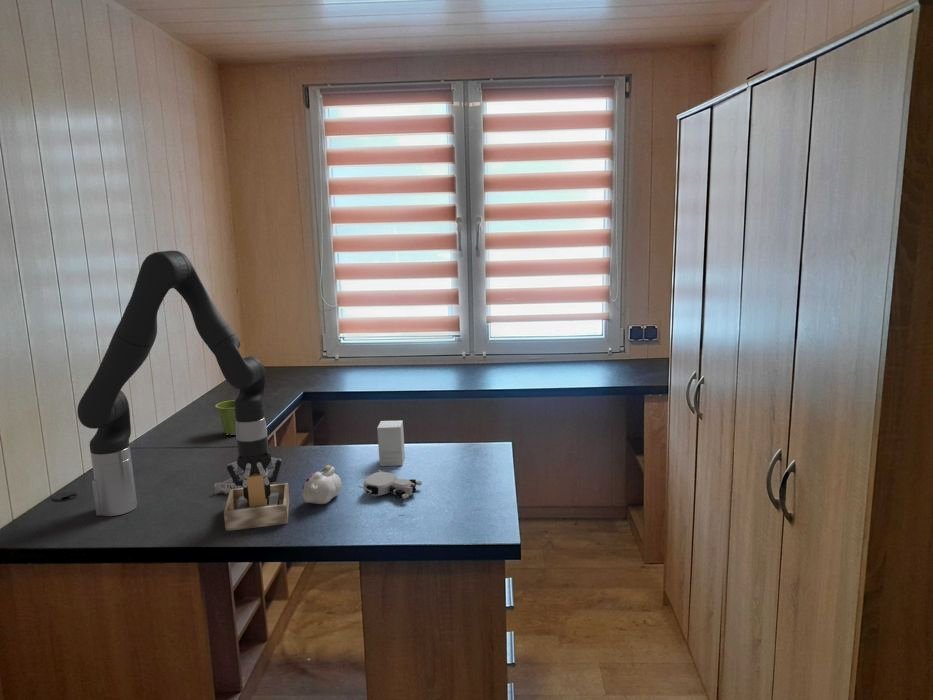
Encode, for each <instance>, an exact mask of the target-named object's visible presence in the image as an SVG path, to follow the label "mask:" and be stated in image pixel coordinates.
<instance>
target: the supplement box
mask: <svg viewBox="0 0 933 700" xmlns="http://www.w3.org/2000/svg"><path fill="white" fill-rule="evenodd" d="M376 429H377V430H376V431H377V444H378V459H379V466H380V467H390V466H391V467H398V466H401V467H402V466H403V465H404V462H405V458H406V456H405V454H406V452H405V436H404V435H405V434H404V420H380V422H379V424H378V426H377V427H376Z"/></svg>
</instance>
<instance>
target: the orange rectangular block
mask: <svg viewBox="0 0 933 700" xmlns="http://www.w3.org/2000/svg"><path fill="white" fill-rule="evenodd" d="M247 485H248V495H249V505H250V507H256V506H264V505H267V498H265V487H264V485H265V483H264V478H263V475H261V474H256V473H255V474H252V475H249V477H247Z"/></svg>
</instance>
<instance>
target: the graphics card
mask: <svg viewBox="0 0 933 700" xmlns="http://www.w3.org/2000/svg"><path fill="white" fill-rule="evenodd" d="M274 468H275V467H274ZM274 468H271V469H269V468H266V469H267V472H268V475H269V477H271V476H272V475H273V471H274ZM237 473H238V475H239V477H240V479H241V480H244V475H245V472H244V471H243V470H241V471H240V472H237ZM237 488H243V487H242V486H236V485H235V483H234V481H233V479H232V477H231V476H230V477H229V478H228V479H225V480H224V481H222V482H220V481H219V482H216V483H215V484H214V492H215V495H217V494H225V495H226V496H229V493H230V489H237Z"/></svg>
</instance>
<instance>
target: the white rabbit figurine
mask: <svg viewBox="0 0 933 700" xmlns="http://www.w3.org/2000/svg"><path fill="white" fill-rule="evenodd" d="M335 470H336V468H335V466H331V464H330V465H329V464H327V465H325V466H323V469H322V472H321V471H316V472H314V473H313V472H311V473H310V475H309V478H307V479H306V480H305V483H304V485H302V488H301V489H302V497H303V502H305V503H311V504H314V505H324V504H328V503H329V502H330V501H332V499H333V498H335V497H337V496H338V495H339V493H340V492H341V490H342V485H343V483H342V480H341V478H340V476H339V475H338V474H337V473H335Z"/></svg>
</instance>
